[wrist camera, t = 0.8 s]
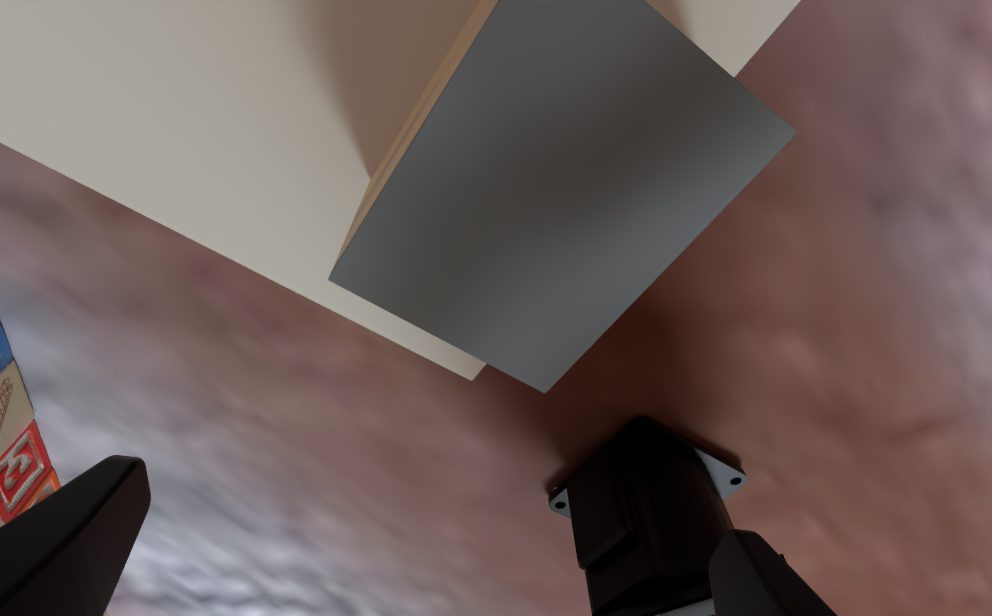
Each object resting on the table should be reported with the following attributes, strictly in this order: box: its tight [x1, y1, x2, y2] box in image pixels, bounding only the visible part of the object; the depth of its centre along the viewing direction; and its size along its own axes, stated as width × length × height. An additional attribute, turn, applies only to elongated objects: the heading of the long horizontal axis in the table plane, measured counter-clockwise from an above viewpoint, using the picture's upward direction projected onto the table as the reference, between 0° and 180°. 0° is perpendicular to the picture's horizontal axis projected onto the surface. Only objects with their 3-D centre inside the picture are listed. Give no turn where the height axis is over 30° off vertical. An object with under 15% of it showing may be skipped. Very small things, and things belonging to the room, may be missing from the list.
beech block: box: [328, 0, 797, 394], centre depth 14 cm, size 6×8×6 cm
